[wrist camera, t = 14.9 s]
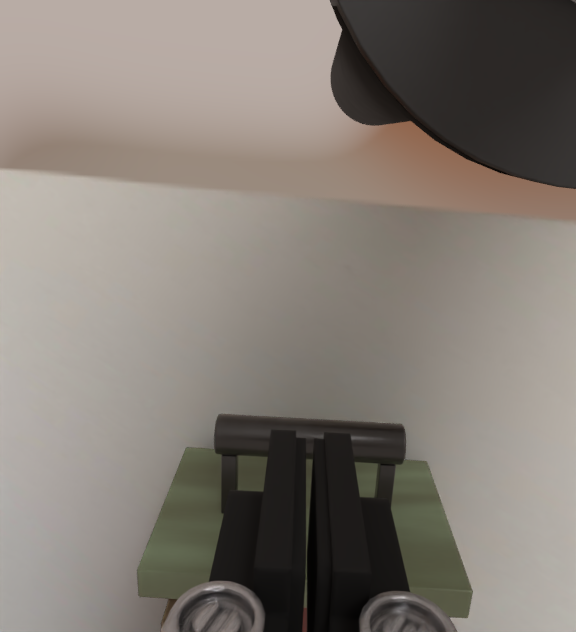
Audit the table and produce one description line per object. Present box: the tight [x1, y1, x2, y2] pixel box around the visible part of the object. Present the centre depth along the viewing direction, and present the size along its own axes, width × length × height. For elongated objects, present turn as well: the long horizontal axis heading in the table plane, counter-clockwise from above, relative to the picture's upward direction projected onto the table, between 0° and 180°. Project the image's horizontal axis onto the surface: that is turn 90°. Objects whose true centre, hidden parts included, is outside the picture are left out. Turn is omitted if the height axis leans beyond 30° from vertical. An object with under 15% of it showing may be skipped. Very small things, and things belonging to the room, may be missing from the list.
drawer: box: [137, 414, 473, 629], centre depth 24 cm, size 17×11×8 cm
